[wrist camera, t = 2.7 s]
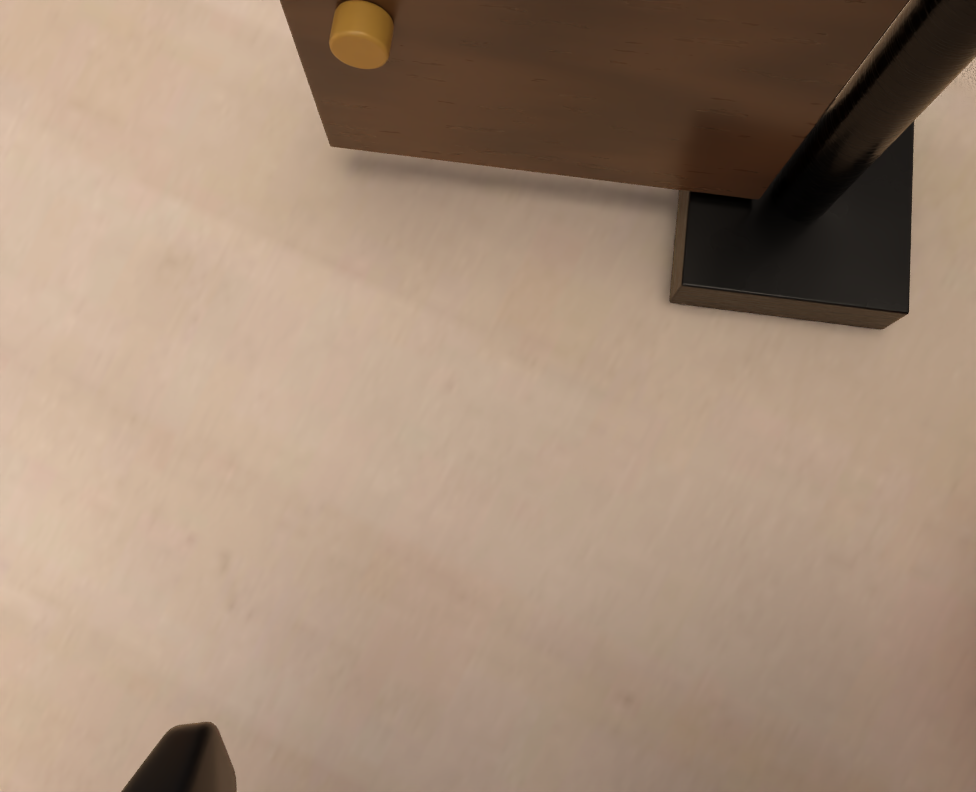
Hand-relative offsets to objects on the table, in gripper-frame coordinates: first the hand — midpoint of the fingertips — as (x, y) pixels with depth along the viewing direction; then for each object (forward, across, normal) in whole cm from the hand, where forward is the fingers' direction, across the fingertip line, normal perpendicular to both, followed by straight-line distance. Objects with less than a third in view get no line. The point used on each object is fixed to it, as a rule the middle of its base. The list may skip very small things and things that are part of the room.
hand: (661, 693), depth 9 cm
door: (+17, -1, 0) cm, 17 cm away
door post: (+17, -8, +2) cm, 19 cm away
